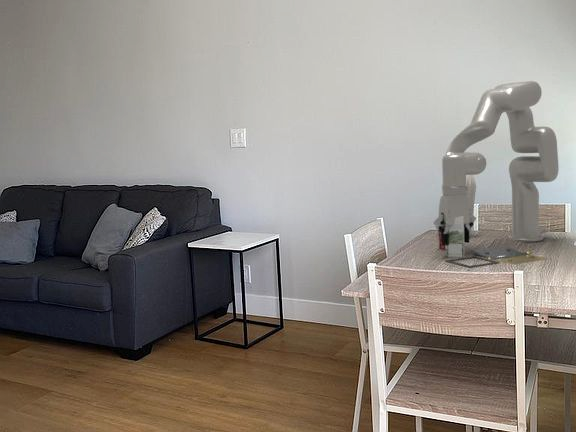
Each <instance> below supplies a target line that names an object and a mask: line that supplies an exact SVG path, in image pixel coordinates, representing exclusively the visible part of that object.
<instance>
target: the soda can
mask: <svg viewBox="0 0 576 432" xmlns="http://www.w3.org/2000/svg"><path fill="white" fill-rule="evenodd" d="M441 226H442V225H441ZM437 243H438V245H437V247H438V248H437V250H441V251H447V250H446V245H442V243H441V233H440V232H439V230H438V229H437Z"/></svg>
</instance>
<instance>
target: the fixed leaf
mask: <svg viewBox="0 0 576 432" xmlns="http://www.w3.org/2000/svg"><path fill="white" fill-rule="evenodd" d="M525 252H526V253H527V254H526V255H520V256H513V257H507V258H500V259H494V261H498V262H500V263H501V262H502V263H507V264H509V265H514V266H515V265H519V264H526V263H533V262H538V261H546V260H549V258H548V257H542V256H538V255H533V254H532V251H531V250H530V251H525ZM485 259H489V260H493V258H492V257H490V258H485Z"/></svg>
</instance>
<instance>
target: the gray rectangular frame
mask: <svg viewBox="0 0 576 432" xmlns="http://www.w3.org/2000/svg"><path fill="white" fill-rule="evenodd" d="M470 259H471V260H472V259H477V260H481V261H485V262H486V263H479V264H475V265H474V264H473V265H468V264H466V263H465V264H464V263H460V262H459V261H465V260H470ZM445 263H446V265H447V266H449V264H452V265H450V266H451V267H453V268H454V267H455V268H459V269H460V267H462V268H461V269H463V270H464V268H465V270H467V271H469V272H470V271H471V270H470V269H472V268H479V267H484V266H485V267H486V266H491V265H498V264H501V261H497V260H489V259H486V258H484V257H481V256H478V255H477V256H475V255H473V256H464V257H457V258H454V259H446V260H445ZM455 265H456V266H455ZM463 267H464V268H463ZM466 268H468V269H466Z"/></svg>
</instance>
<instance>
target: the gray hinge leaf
mask: <svg viewBox="0 0 576 432" xmlns="http://www.w3.org/2000/svg"><path fill="white" fill-rule="evenodd" d="M526 252H527V251H523V252H522V251H520V250H517V249H515V248H512V247H509V246H507V245H498V246H493V247H492V246H491V247H484V248H477V249H471V253H473V254H474V255H477V256H478V257H481V258H485V259H486V258H490V257H492V258H493V260H494V259H500V258H507V257H513V256H520V255H526V254H527V253H526ZM494 261H495V260H494Z"/></svg>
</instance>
